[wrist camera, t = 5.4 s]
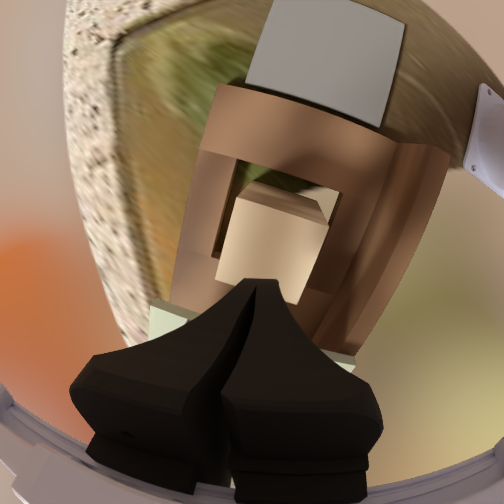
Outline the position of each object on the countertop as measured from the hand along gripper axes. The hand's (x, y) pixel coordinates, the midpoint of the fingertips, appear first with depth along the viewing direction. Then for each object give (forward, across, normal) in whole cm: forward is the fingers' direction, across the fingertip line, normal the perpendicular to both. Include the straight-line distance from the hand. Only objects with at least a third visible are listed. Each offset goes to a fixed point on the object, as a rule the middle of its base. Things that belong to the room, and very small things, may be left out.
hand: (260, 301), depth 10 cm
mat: (+9, -4, -13) cm, 16 cm away
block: (+9, 0, 0) cm, 9 cm away
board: (+9, 0, +2) cm, 10 cm away
